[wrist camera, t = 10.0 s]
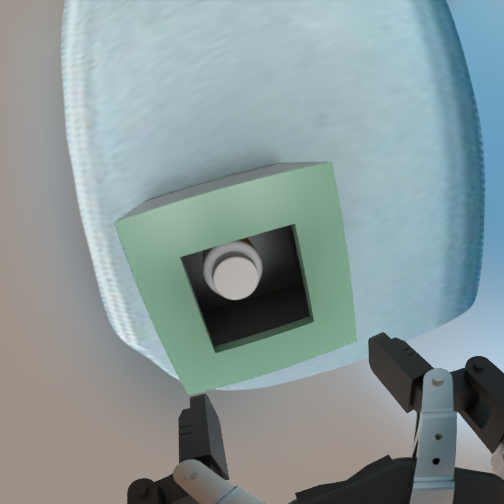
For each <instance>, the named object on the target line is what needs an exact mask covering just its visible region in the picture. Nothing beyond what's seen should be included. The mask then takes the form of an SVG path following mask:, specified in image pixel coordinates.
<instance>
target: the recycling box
mask: <svg viewBox="0 0 504 504" xmlns="http://www.w3.org/2000/svg"><path fill="white" fill-rule="evenodd" d="M114 224H115V227H116V230H117V233H118V236H119V239H120V242H121V245H122V247H123V250H124V253H125V256H126V258H127V261H128V264H129V266H130V269H131V272H132V274H133V277H134V279H135V282H136V284H137V287H138V289H139V292H140V294H141V297H142V299H143V302H144V304H145V306H146V309H147V311H148V313H149V316H150V318H151V320H152V322H153V325H154V327H155V329H156V331H157V334H158V336H159V338H160V340H161V342H162V344H163V346H164V348H165V351H166V353H167V355H168V357H169V359H170V361H171V363H172V365H173V367H174V369H175V371H176V373H177V375H178V377H179V379H180V380H181V382H182V384H183V386H184V388H185V390H186V392H187V394H188V395H191V394H196V393H200V392H204V391H208V390H212V389H216V388H220V387H223V386H227V385H231V384H234V383H238V382H241V381H245V380H248V379H251V378H255V377H258V376H261V375H264V374H268V373H271V372H274V371H277V370H280V369H283V368H286V367H289V366H292V365H295V364H297V363H300V362H303V361H306V360H309V359H311V358H314V357H317V356H319V355H322V354H325V353H327V352H330V351H332V350H335V349H338V348H340V347H343V346H345V345H347V344H350V343H352V342H355V341H357V340H356V327H355V316H354V305H353V296H352V286H351V278H350V270H349V262H348V255H347V248H346V241H345V234H344V228H343V222H342V216H341V210H340V204H339V199H338V193H337V188H336V183H335V178H334V173H333V168H332V163H331V162H296V163H278V164H274V165H270V166H265V167H261V168H257V169H253V170H249V171H246V172H242V173H238V174H234V175H230V176H227V177H223V178H219V179H216V180H212V181H209V182H205V183H202V184H198V185H195V186H191V187H188V188H185V189H181V190H178V191H175V192H172V193H169V194H165V195H162V196H159V197H156V198H153V199H150V200H147V201H145V202H143V203H142V204H140V205H139V206H137V207H136V208H135V209H133V210H132V211H130V212H129V213H127V214H126V215H124V216H123V217H121V218H120V219H119V220H117V221H116V222H114ZM247 237H248V239H249V240H250V242H251V243H252V245H253V246H254V248H255V249H256V251H257V252H258V254H259V256H260V258H261V261H262V268H263V269H262V275H261V278H260V281H259V282H258V285H257V287H256V289H255V290H254V291H253V293H252V294H250V295H249V296H247V297H246V298H243V299H239V300H231V299H227V298H225V297H223V296H222V295H219V294H217V293H216V292H214V291H213V290H212V289H211V288H210V287H209V286H208V284H207V282H206V280H205V278H204V274H203V250H206V249H209V248H213V247H216V246H219V245H223V244H226V243H230V242H233V241H236V240H240V239H243V238H247Z"/></svg>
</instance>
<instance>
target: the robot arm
mask: <svg viewBox="0 0 504 504" xmlns="http://www.w3.org/2000/svg"><path fill="white" fill-rule="evenodd" d="M368 343H369V364H370V367H371V369H372V371H373V373H374V374H375V375H376V376H377V377H378V379H379V380H380V381H381V382H382V384H383V385H384V386H385V387H386V388H387V390H388V391H389V392H390V393H391V394H392V396H393V397H394V398H395V399H396V400H397V401H398V403H399V404H400V405H401V407H402V408H403V409H404V410H405V411H406V413H408V412H410V411H412V410H415V411H416V412H417V415H416V422H415V431H414V438H413V445H412V450H411V455H410V457H404V458H396V459H391V457H390V456H389V455H387V456H385V457H383V458H381V459H379V460H377V461H375V462H373V463H371V464H369V465H367V466H366V467H364V468H363V469H362V470H360V471H359V472H357V473H356V474H355V475H353V476H352V477H351V478H349V479H348V480H345V481H341V482H336V483H330V484H324V485H318V486H315V487H313V488H310V489H307V490H304V491H301V492H298V493H295V495H296V497H297V499H295V500H293V501H292V502H290V503H289V504H504V373H503V372H502V371H501V370H499V369H498V368H497V367H496V366H495V365H494V364H493V363H491V361H489V360H488V359H487V358H485V357H482V356H475V357H472V358H470V359H469V360H468V361H467V363H466V366H465V368H463V369H459V370H457V371H453V372H448V371H447V370H445V369H441V368H436V369H434V368H433V367H432V366H431V365H430V364H429V363H428V362H426V360H424V359H423V358H422V357H421V356H420V355H419V354H418V353H416V351H414V349H412V348H411V347H410V346H409V345H408V344H407V343H406V342H405V341H403V340H400V339H398V338H393V339H390V338H389V337H388V336H387V335H386V334H385V333H383V332H382V333H380V334H378V335H375V336H373V337H371V338H369V341H368ZM457 412H458V413H459V414H460V415H461V416H462V417H463V419H465V421H466V422H467V423H468V425H469V426H470V427H471V428H472V429H473V431H474V432H475V433H476V434H477V435H478V437H479V438H480V439H481V440H482V442H483V443H484V444H485V445H486V447H487V448H488V449H489V450H490V452H491V453H492V454H493V455H492V458H491V465H492V467H493V471H494V472H495V474H492V473H486V472H480V471H473V470H468V469H462V468H457V467H455V456H456V455H455V454H456V434H457V414H456V413H457ZM225 480H229V475H228V470H227V463H226V458H225V452H224V446H223V439H222V433H221V427H220V422H219V418H218V416H217V414H216V411H215V410H214V408H213V406H212V404H211V402H210V400H209V398H208V396H207V395H206V394H201V395H197V396H193V397H190V408H189V409H184V410H183V411H182V413H181V415H180V417H179V464H178V465H177V466H176V467H175V469H174V471H173V473H172V474H171V475H170V476H168V477H165V478H163V479H161V480H158V481H156V482H153V481H152V480H150V479H146V478H143V479H138V480H136V481H134V482H133V483H132V484H131V485H130V486H129V488H128V492H127V497H128V499H127V504H265V503H263V502H262V501H260V500H259V499H257V498H255V497H254V496H252V495H251V494H249V493H247V492H246V491H244V490H243V489H241V488H239V487H237V486H236V487H235V486H233V485H231V484H230V483H228V482H227V481H225Z"/></svg>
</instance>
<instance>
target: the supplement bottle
mask: <svg viewBox="0 0 504 504" xmlns="http://www.w3.org/2000/svg"><path fill="white" fill-rule="evenodd" d="M262 269H263V268H262V261H261V258H260V256H259V254H258V252H257V251H256V249H255V248H254V246H253V245H252V243H251V242H250V240H249V239H248V237H247V238H243V239H240V240H236V241H233V242H230V243H226V244H223V245H219V246H216V247H213V248H209V249H206V250H203V274H204V278H205V280H206V282H207V284H208V286H209V287H210V288H211V289H212V290H213V291H214V292H216V293H217V294H219V295H222V296H223V297H225V298H227V299H231V300H239V299H243V298H246V297H247V296H249V295H250V294H252V293H253V291H254V290H255V289H256V287H257V285H258V282H259V281H260V278H261V275H262Z"/></svg>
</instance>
